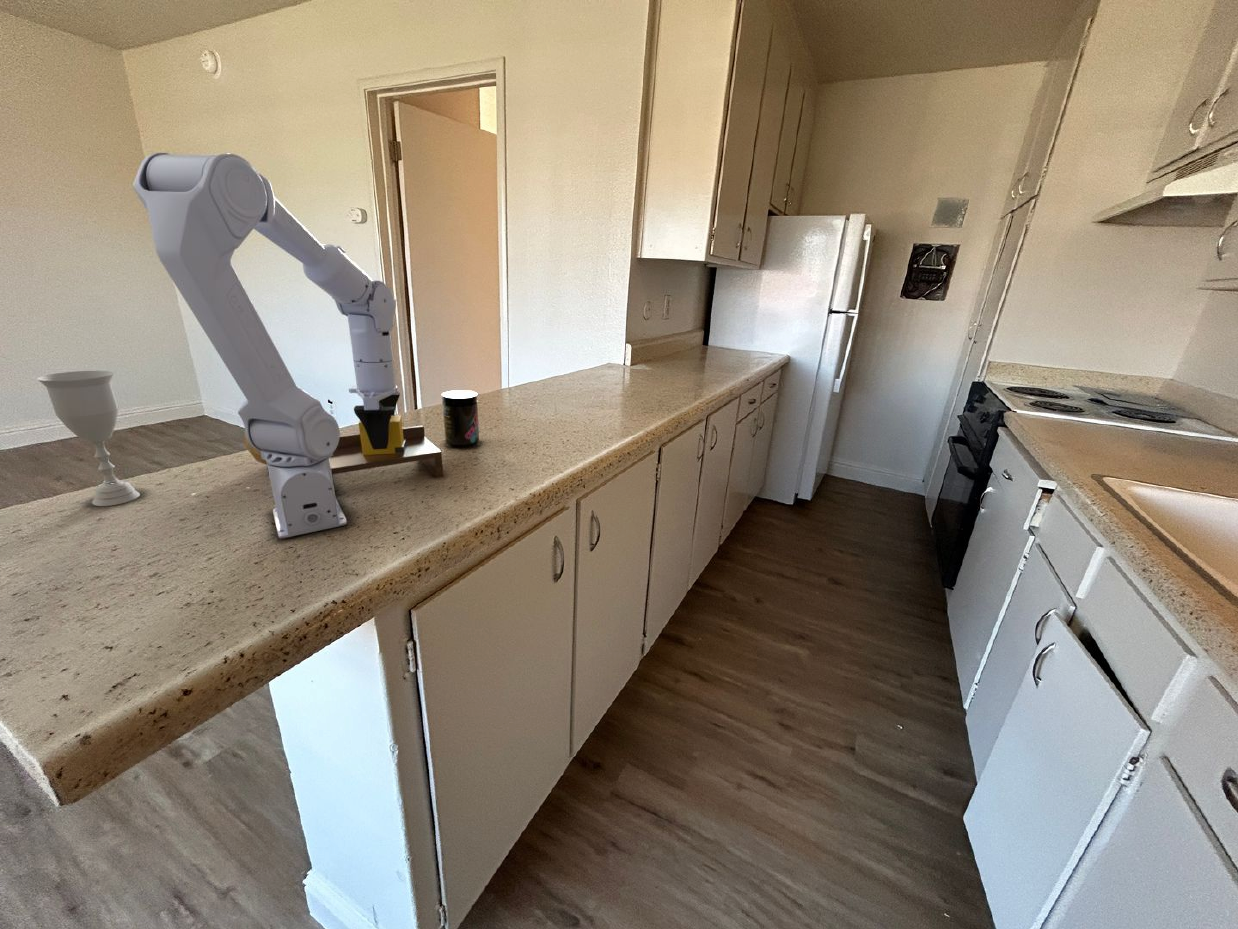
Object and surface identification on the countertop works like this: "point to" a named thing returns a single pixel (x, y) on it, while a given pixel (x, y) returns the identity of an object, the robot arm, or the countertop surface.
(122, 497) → the chalice
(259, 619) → the countertop surface
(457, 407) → the supplement container
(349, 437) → the shelf
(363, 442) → the tape measure
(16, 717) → the countertop surface
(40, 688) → the countertop surface
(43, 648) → the countertop surface
